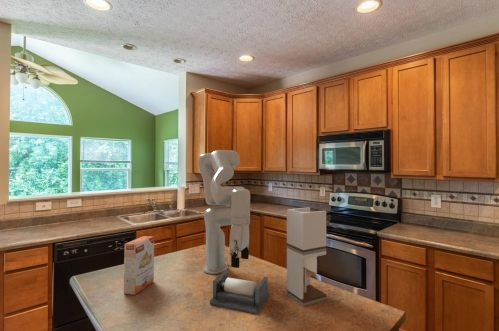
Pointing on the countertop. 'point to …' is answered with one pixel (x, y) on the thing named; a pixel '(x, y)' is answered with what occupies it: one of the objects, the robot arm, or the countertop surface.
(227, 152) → the robot arm
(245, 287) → the kitchen roll
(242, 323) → the countertop surface
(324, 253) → the white stand
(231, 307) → the roll holder
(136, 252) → the cracker box
